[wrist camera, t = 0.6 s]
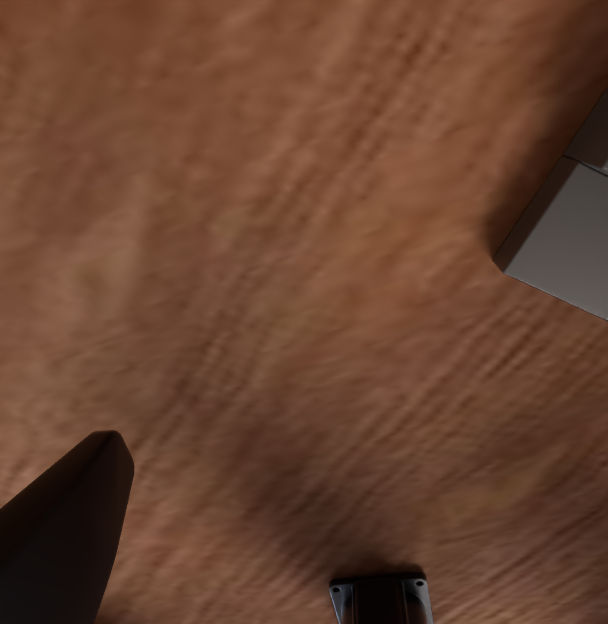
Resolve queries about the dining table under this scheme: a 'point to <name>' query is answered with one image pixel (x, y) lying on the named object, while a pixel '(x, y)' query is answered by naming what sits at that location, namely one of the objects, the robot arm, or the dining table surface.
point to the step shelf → (568, 224)
